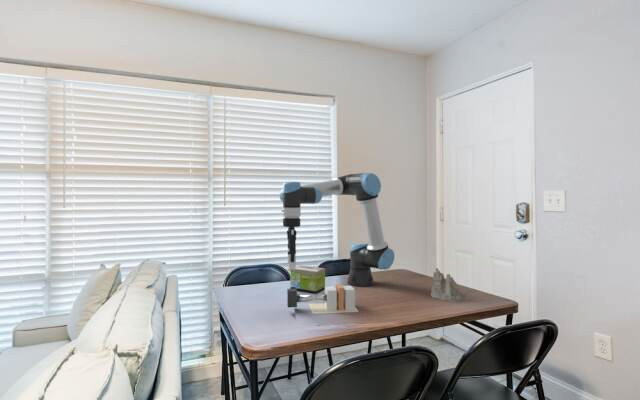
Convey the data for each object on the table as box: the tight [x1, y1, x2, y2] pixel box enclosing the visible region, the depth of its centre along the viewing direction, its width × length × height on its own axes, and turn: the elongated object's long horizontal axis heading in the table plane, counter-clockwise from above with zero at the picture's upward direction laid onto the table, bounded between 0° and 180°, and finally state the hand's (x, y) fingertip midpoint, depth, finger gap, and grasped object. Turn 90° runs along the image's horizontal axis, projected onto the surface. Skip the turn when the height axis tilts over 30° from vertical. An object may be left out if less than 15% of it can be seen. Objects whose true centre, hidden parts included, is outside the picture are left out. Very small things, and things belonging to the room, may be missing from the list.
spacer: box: [335, 283, 344, 310], centre depth 157 cm, size 2×8×10 cm, turn 7°
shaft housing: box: [308, 285, 359, 315], centre depth 156 cm, size 20×14×10 cm
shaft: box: [286, 288, 327, 308], centre depth 155 cm, size 18×4×7 cm, turn 97°
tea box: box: [289, 265, 326, 295], centre depth 178 cm, size 15×10×15 cm, turn 62°
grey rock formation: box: [430, 267, 462, 302], centre depth 179 cm, size 16×16×15 cm
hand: (291, 266), depth 154 cm, fingers open, 13 cm apart
